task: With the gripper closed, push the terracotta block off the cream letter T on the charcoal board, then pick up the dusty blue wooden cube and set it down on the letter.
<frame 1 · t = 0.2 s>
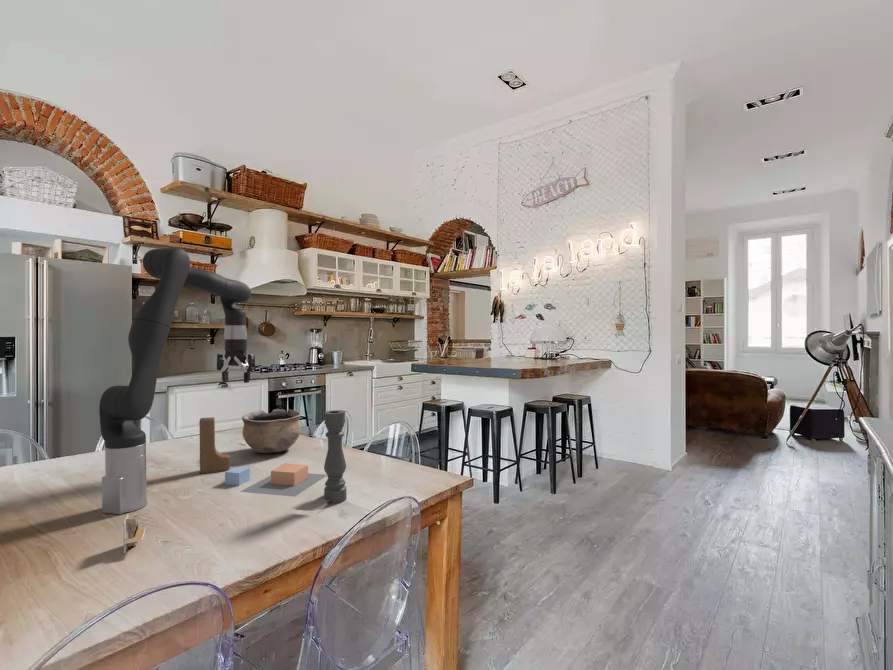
hand: (236, 382, 171), 29 cm above the table, tool pointing down, fingers open, 8 cm apart
architectural model: (131, 551, 104), on the table
ceramic bowl: (272, 451, 185), on the table
candle holder: (335, 500, 133), on the table
terracotta block: (289, 480, 146), point 1 cm above the table, touching letter board
blue cube: (237, 486, 145), on the table
wooden block: (215, 470, 161), on the table
letter board: (286, 486, 144), on the table
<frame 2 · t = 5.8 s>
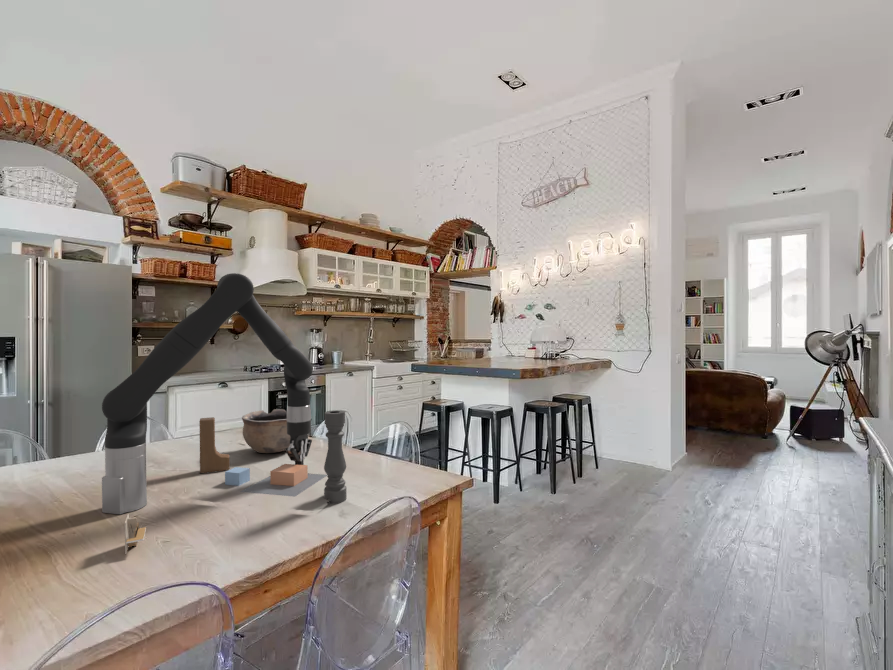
hand: (299, 471, 152), 2 cm above the table, tool pointing down, fingers closed
terracotta block: (289, 480, 146), point 1 cm above the table, touching gripper
everything else where it was.
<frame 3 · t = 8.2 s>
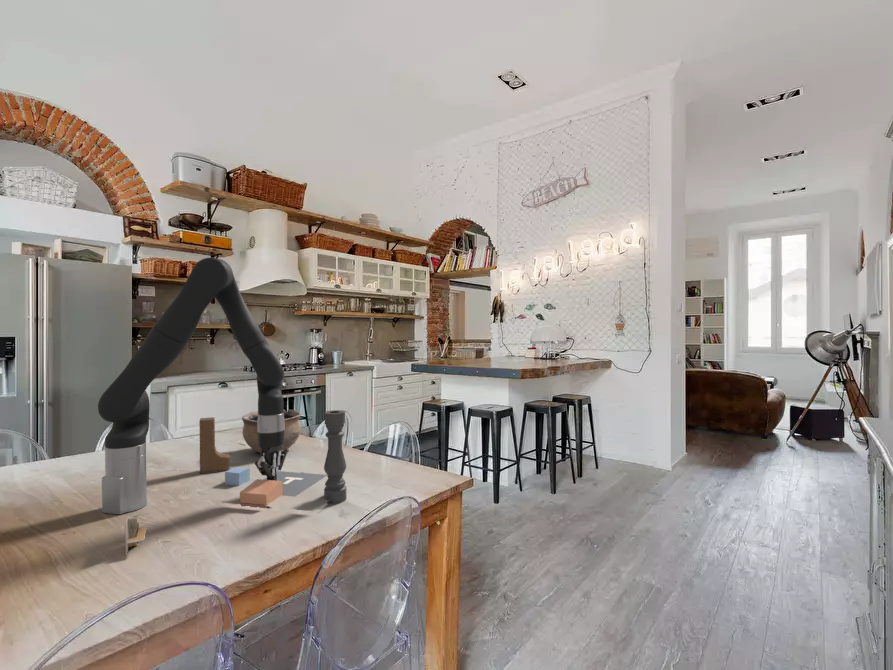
hand: (272, 487, 137), 2 cm above the table, tool pointing down, fingers closed
terracotta block: (262, 499, 131), point 1 cm above the table, tilted 8°, touching gripper
everything else where it was.
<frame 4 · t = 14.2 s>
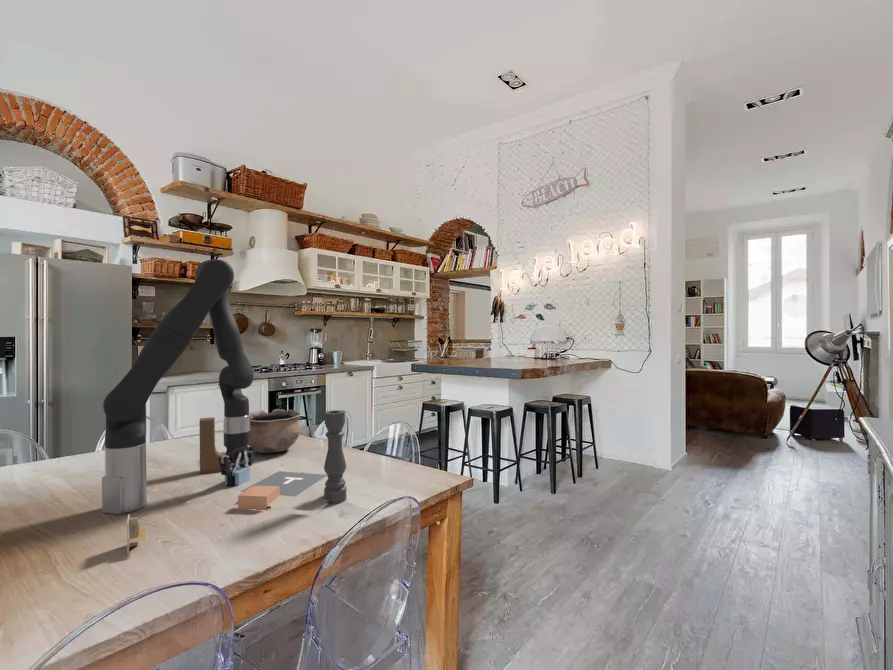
hand: (237, 484, 145), 0 cm above the table, tool pointing down, fingers closed on blue cube, 5 cm apart
terracotta block: (259, 505, 130), on the table
blue cube: (237, 485, 145), on the table, touching gripper
everything else where it was.
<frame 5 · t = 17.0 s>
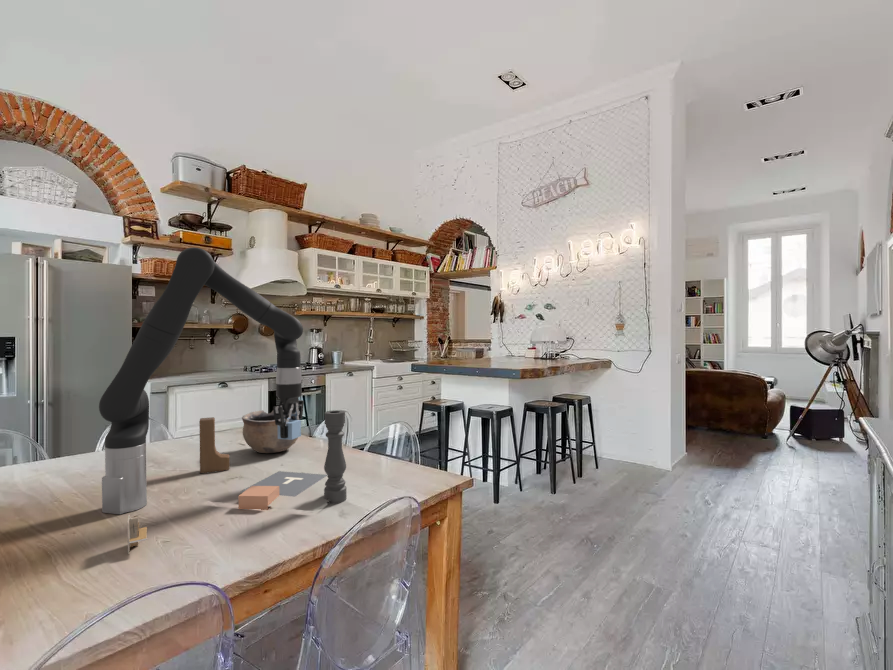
hand: (289, 435, 146), 15 cm above the table, tool pointing down, fingers closed on blue cube, 5 cm apart
blue cube: (289, 437, 146), point 15 cm above the table, touching gripper
everything else where it was.
when the fingers open (3 cm above the table, at t = 20.2 s): blue cube drops 1 cm, resting on letter board.
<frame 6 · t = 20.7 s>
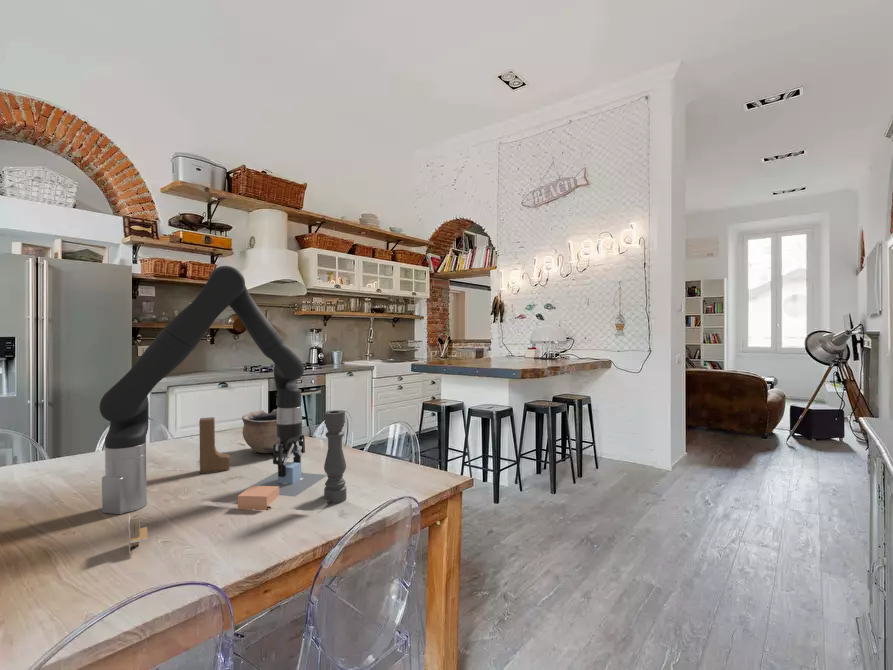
hand: (289, 472, 146), 4 cm above the table, tool pointing down, fingers open, 8 cm apart
blue cube: (289, 480, 146), point 1 cm above the table, touching letter board
everything else where it was.
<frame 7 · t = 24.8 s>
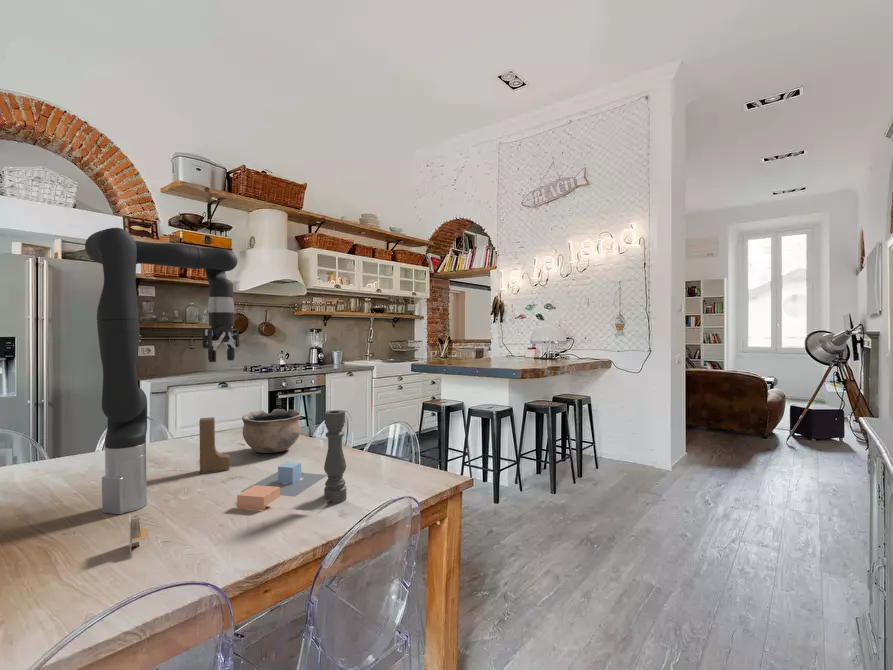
hand: (221, 361, 152), 38 cm above the table, tool pointing down, fingers open, 8 cm apart
at the end: blue cube 0.0 cm from the target spot on the letter board, point 1.0 cm above the letter board's base; blue cube tilted 0°; terracotta block inside the target area on the table beside the letter board (1.4 cm from its centre), on the table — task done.
